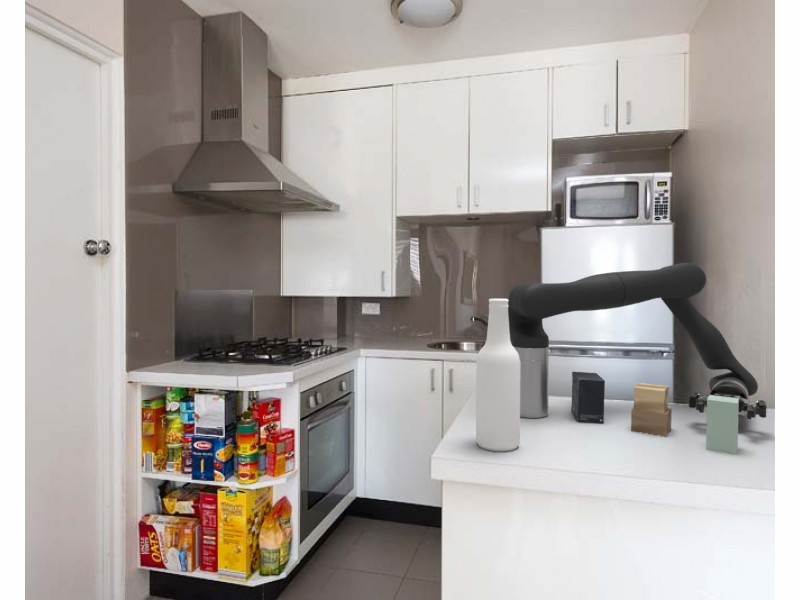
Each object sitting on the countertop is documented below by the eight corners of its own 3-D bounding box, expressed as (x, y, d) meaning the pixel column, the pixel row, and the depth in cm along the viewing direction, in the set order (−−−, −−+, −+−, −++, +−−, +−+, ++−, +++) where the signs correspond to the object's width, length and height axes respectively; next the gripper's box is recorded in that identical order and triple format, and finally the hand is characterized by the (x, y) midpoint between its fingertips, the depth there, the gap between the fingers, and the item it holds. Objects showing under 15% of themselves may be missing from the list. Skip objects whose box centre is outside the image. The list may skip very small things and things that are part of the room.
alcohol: (473, 450, 96) (474, 299, 95) (478, 436, 104) (479, 298, 103) (519, 454, 94) (520, 299, 93) (520, 440, 102) (521, 298, 101)
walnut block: (666, 437, 104) (666, 414, 104) (631, 431, 109) (631, 409, 108) (671, 429, 110) (671, 407, 110) (637, 424, 114) (637, 403, 114)
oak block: (663, 413, 105) (664, 391, 105) (633, 409, 108) (633, 387, 108) (668, 408, 110) (668, 386, 109) (639, 404, 113) (639, 383, 113)
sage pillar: (736, 454, 94) (737, 403, 93) (706, 449, 97) (707, 399, 96) (737, 447, 98) (738, 398, 97) (708, 442, 101) (709, 394, 100)
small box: (605, 424, 114) (606, 379, 114) (576, 422, 115) (577, 378, 115) (596, 412, 124) (597, 371, 124) (570, 411, 126) (570, 371, 125)
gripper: (694, 377, 120) (686, 389, 107) (766, 385, 111) (767, 398, 98) (694, 407, 120) (685, 422, 107) (765, 417, 112) (766, 434, 99)
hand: (724, 411), depth 103 cm, fingers open, 8 cm apart
